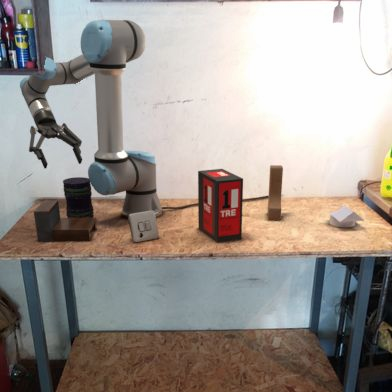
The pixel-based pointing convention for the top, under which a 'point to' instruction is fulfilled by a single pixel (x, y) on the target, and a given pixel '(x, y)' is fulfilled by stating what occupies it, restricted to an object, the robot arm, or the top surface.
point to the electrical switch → (143, 226)
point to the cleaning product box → (220, 204)
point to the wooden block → (275, 192)
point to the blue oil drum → (78, 197)
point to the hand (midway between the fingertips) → (63, 164)
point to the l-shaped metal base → (60, 224)
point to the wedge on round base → (344, 217)
